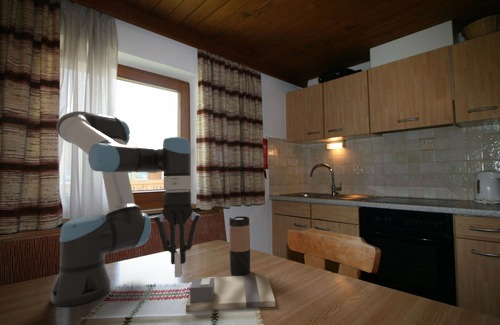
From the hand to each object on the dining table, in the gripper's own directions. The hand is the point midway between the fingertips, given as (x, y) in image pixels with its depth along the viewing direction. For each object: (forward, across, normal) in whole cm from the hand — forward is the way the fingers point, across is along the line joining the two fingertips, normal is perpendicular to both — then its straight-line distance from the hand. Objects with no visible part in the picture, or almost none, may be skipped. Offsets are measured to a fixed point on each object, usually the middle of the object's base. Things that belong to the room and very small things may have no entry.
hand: (178, 275), depth 70 cm
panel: (+8, +15, +5) cm, 18 cm away
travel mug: (+8, +18, +21) cm, 29 cm away
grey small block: (+7, +7, 0) cm, 9 cm away
